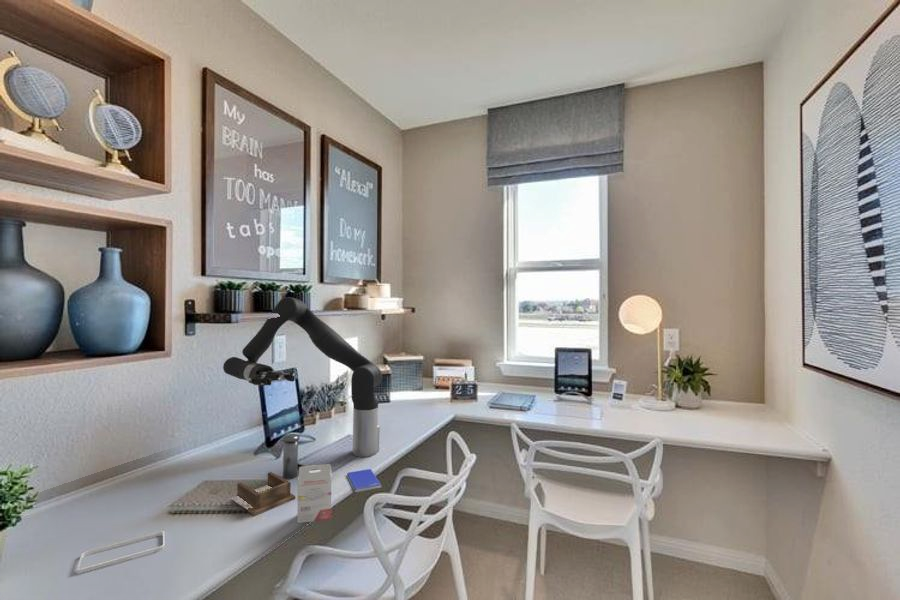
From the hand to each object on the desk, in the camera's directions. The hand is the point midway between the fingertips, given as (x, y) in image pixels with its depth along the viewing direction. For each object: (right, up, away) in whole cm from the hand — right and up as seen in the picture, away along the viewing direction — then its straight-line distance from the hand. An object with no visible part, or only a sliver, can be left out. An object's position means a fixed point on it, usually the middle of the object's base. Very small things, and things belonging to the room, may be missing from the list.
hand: (282, 380), depth 139 cm
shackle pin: (+6, -30, -9) cm, 31 cm away
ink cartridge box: (+22, -30, -32) cm, 50 cm away
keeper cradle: (+5, -30, -24) cm, 38 cm away
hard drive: (+31, -31, -11) cm, 45 cm away
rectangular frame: (-15, -30, -49) cm, 59 cm away
